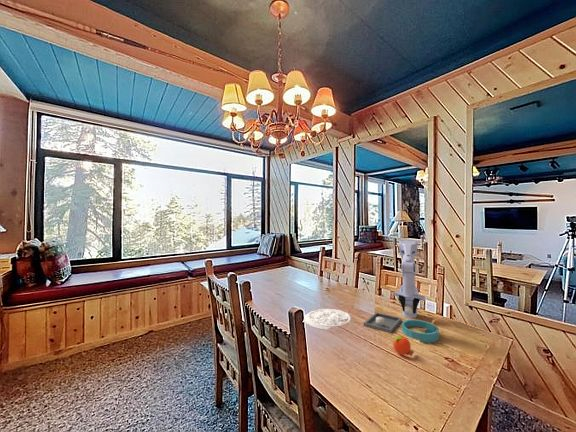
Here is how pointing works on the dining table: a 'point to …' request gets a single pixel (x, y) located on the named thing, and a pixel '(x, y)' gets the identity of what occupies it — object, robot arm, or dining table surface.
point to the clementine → (401, 345)
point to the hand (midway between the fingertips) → (409, 311)
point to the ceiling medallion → (326, 318)
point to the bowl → (426, 337)
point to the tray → (390, 322)
